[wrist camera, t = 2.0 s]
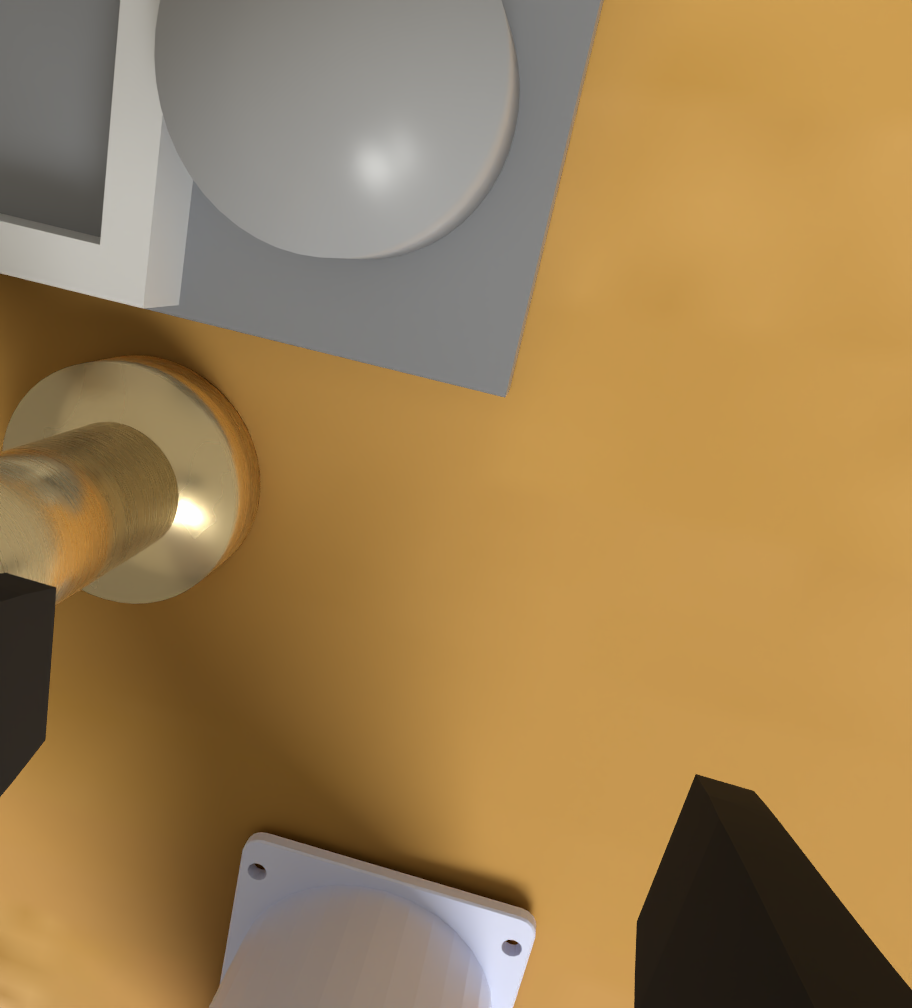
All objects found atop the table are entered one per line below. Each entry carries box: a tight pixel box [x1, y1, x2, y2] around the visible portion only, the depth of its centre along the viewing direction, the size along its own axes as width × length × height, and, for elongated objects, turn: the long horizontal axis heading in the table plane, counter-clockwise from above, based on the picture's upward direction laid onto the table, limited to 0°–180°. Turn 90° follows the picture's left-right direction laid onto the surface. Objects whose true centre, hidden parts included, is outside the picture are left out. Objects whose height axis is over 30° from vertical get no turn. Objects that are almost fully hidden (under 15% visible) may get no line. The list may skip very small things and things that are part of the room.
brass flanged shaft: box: [0, 355, 260, 606], centre depth 16 cm, size 6×6×8 cm
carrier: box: [0, 0, 604, 397], centre depth 16 cm, size 10×17×4 cm, turn 78°
